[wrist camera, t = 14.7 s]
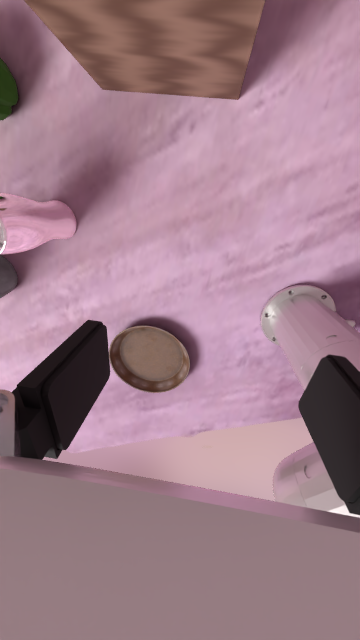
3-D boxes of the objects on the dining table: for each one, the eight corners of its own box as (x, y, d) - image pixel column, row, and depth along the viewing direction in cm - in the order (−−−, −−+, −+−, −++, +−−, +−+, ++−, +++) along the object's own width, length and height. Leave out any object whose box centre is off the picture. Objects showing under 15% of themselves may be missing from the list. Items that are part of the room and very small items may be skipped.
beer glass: (45, 188, 35) (-55, 175, 22) (84, 212, 36) (12, 214, 23) (36, 227, 38) (-56, 237, 25) (72, 249, 39) (3, 269, 26)
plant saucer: (124, 307, 44) (118, 313, 41) (203, 338, 45) (203, 346, 42) (107, 367, 52) (101, 376, 49) (174, 392, 53) (172, 402, 50)
